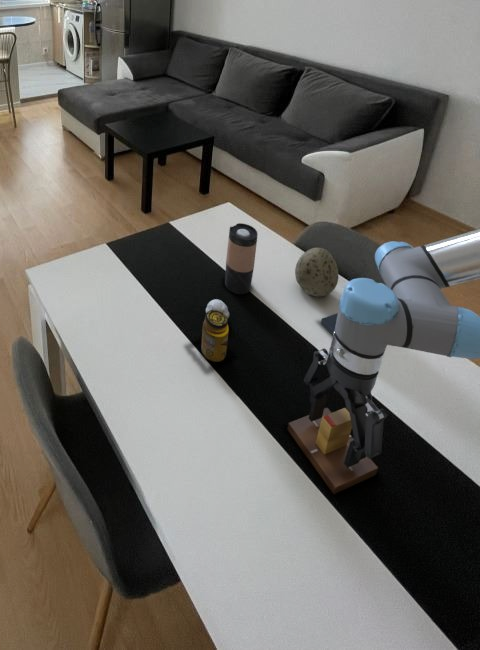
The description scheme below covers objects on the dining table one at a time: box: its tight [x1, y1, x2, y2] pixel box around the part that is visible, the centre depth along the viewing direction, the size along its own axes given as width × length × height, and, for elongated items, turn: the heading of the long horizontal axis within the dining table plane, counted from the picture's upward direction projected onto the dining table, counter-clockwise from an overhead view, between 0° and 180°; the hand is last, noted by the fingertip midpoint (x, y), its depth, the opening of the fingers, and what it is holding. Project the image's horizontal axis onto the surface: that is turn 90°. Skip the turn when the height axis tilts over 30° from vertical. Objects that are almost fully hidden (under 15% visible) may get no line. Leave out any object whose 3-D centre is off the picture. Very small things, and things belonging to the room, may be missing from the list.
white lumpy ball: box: [205, 298, 230, 320], centre depth 115 cm, size 6×7×7 cm
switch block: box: [320, 312, 338, 337], centre depth 109 cm, size 10×8×4 cm
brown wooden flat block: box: [287, 407, 379, 495], centre depth 85 cm, size 12×10×3 cm
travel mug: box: [224, 222, 258, 295], centre depth 124 cm, size 8×8×20 cm
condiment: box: [200, 310, 230, 363], centre depth 105 cm, size 7×8×12 cm
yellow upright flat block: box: [316, 407, 352, 455], centre depth 83 cm, size 6×2×8 cm, turn 106°
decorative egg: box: [294, 247, 339, 298], centre depth 121 cm, size 11×11×15 cm
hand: (332, 439), depth 84 cm, fingers open, 8 cm apart
